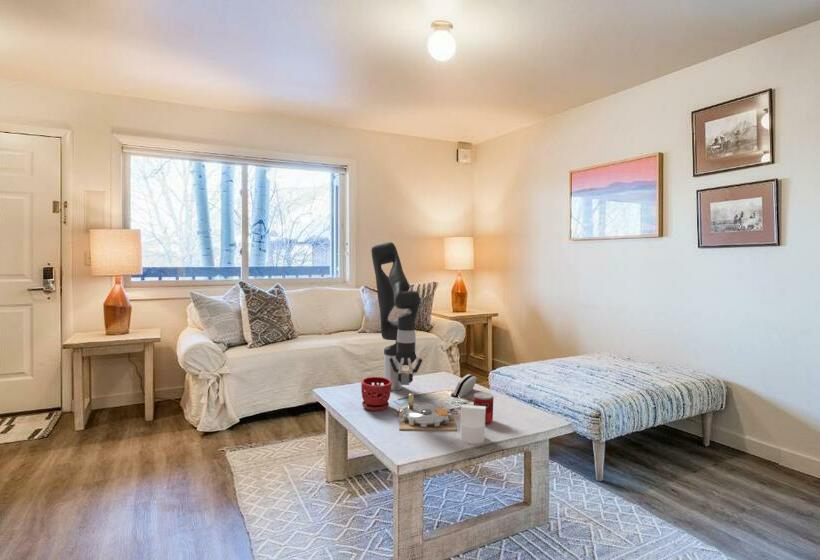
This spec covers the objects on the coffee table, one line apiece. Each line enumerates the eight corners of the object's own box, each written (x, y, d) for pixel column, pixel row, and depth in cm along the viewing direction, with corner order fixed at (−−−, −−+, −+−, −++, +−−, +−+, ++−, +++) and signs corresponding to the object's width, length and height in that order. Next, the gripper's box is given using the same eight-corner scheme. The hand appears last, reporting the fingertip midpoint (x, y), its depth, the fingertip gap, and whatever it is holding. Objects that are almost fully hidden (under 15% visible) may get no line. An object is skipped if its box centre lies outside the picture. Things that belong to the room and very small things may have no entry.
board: (399, 410, 202) (399, 408, 202) (450, 410, 203) (450, 408, 203) (399, 430, 180) (399, 428, 180) (456, 430, 181) (456, 428, 181)
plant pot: (359, 412, 199) (359, 384, 198) (363, 402, 212) (363, 375, 211) (390, 413, 198) (390, 385, 197) (392, 402, 211) (392, 376, 210)
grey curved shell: (463, 387, 236) (470, 369, 234) (471, 391, 234) (478, 374, 232) (449, 396, 222) (457, 377, 219) (458, 401, 220) (465, 382, 217)
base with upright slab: (459, 442, 170) (460, 410, 170) (461, 432, 179) (461, 401, 178) (484, 444, 169) (485, 412, 168) (484, 434, 178) (485, 403, 177)
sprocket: (390, 418, 190) (391, 399, 189) (420, 405, 206) (421, 387, 205) (432, 431, 177) (432, 410, 177) (460, 416, 193) (461, 397, 193)
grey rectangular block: (401, 380, 194) (401, 370, 194) (409, 380, 194) (409, 370, 194) (400, 384, 188) (401, 374, 188) (409, 385, 188) (409, 374, 188)
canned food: (469, 420, 192) (469, 394, 191) (482, 416, 197) (483, 390, 196) (483, 426, 186) (484, 399, 185) (496, 421, 191) (497, 395, 190)
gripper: (388, 341, 186) (387, 384, 187) (423, 342, 186) (422, 385, 187) (389, 338, 194) (388, 379, 195) (423, 338, 194) (422, 380, 195)
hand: (405, 382), depth 191 cm, fingers closed on grey rectangular block, 3 cm apart
